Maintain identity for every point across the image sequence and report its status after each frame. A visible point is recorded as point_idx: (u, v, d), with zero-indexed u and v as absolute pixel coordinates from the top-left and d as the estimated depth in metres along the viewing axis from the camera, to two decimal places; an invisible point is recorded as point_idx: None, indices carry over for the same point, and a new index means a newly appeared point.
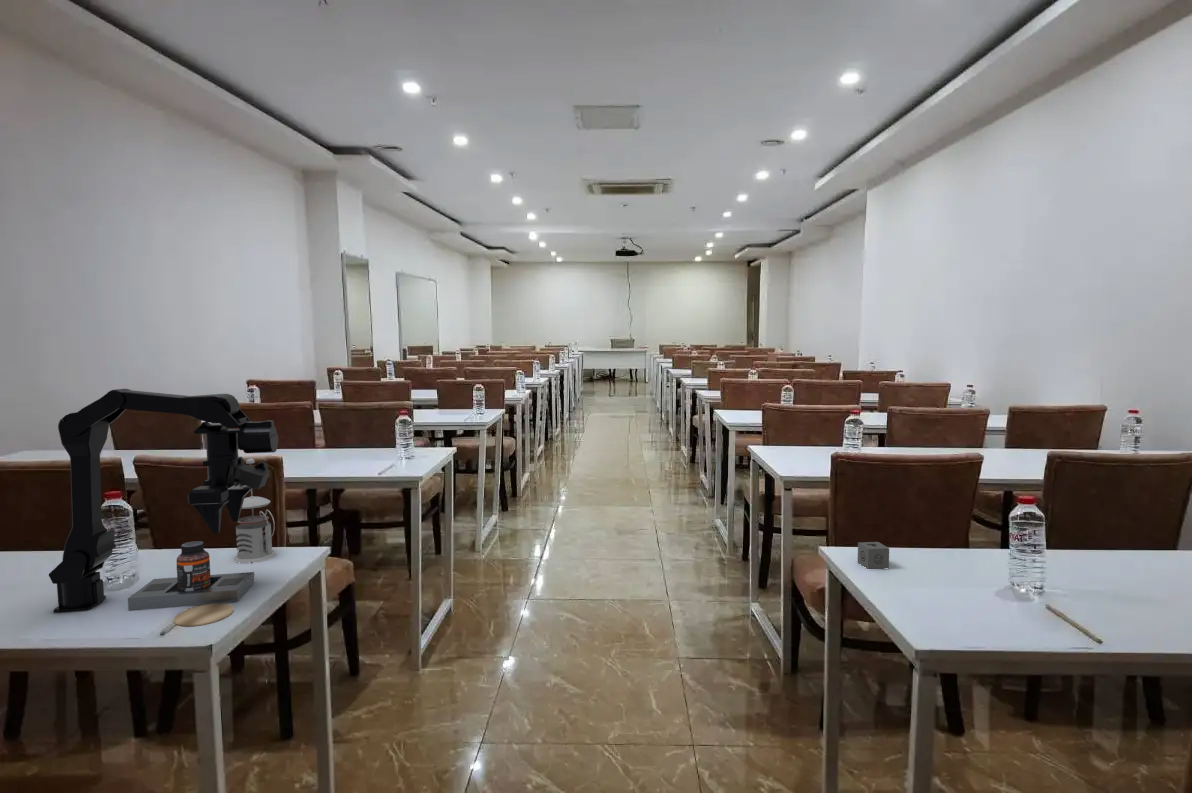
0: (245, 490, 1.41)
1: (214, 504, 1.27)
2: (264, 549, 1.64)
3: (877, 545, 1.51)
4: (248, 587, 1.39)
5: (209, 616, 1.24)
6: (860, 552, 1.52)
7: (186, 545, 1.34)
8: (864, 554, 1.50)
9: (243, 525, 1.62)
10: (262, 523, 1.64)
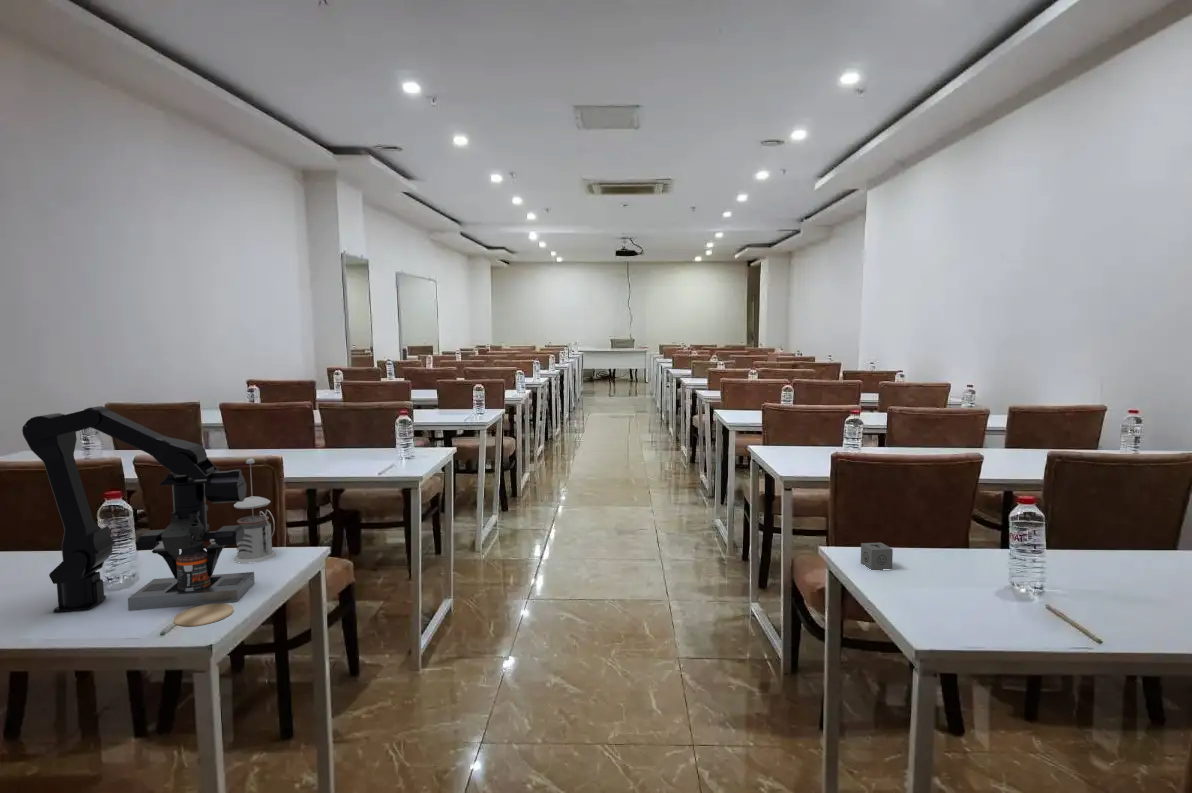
0: None
1: None
2: (264, 549, 1.64)
3: (880, 546, 1.50)
4: (248, 587, 1.39)
5: (209, 616, 1.24)
6: (863, 553, 1.51)
7: None
8: (867, 555, 1.49)
9: (243, 525, 1.62)
10: (262, 523, 1.64)
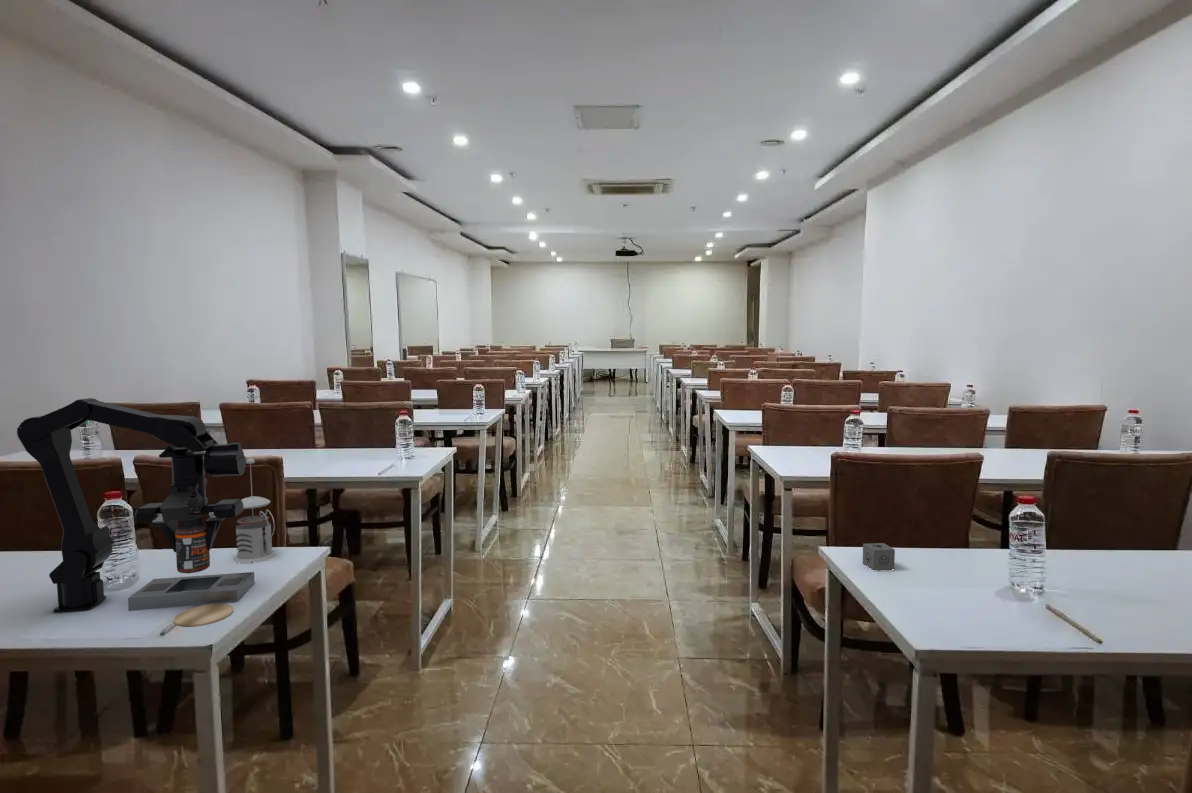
0: None
1: None
2: (264, 549, 1.64)
3: (882, 546, 1.50)
4: (248, 587, 1.39)
5: (209, 616, 1.24)
6: (865, 553, 1.51)
7: None
8: (869, 555, 1.49)
9: (243, 525, 1.62)
10: (262, 523, 1.64)
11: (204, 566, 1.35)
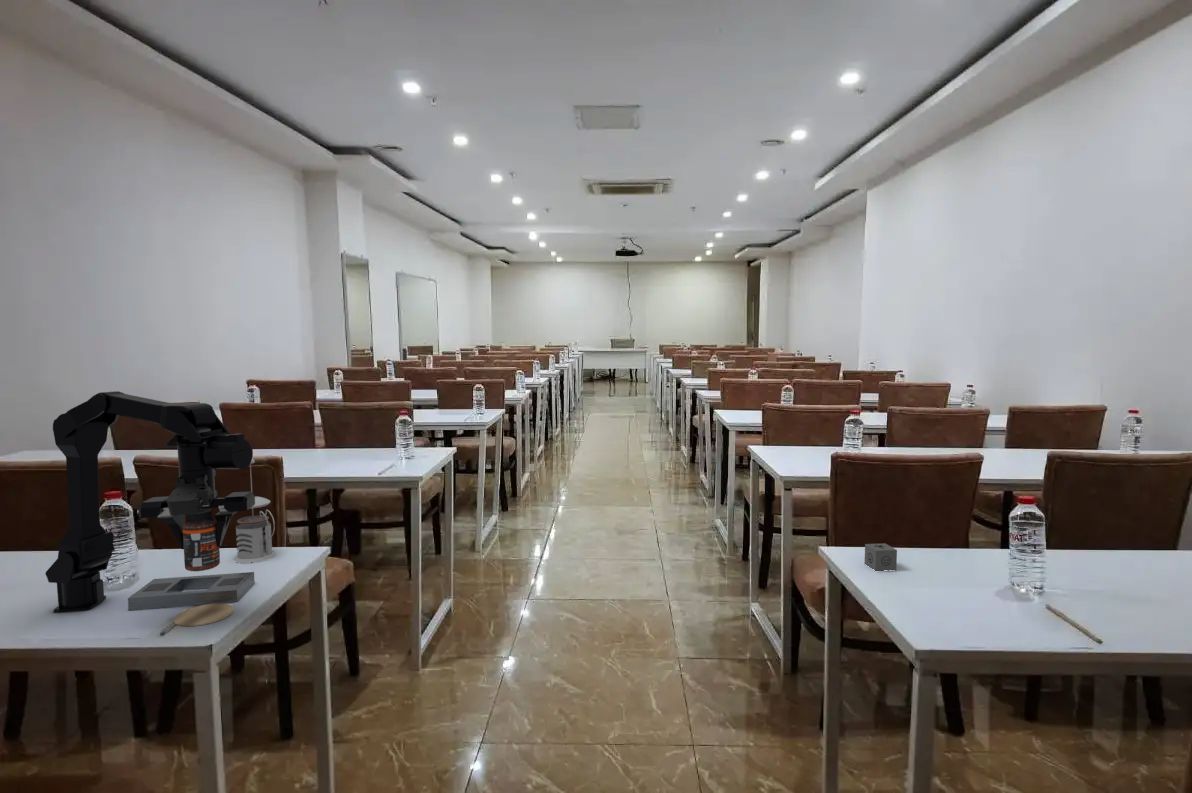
0: None
1: None
2: (264, 549, 1.64)
3: (884, 547, 1.49)
4: (248, 587, 1.39)
5: (209, 616, 1.24)
6: (867, 554, 1.51)
7: None
8: (871, 556, 1.49)
9: (243, 525, 1.62)
10: (262, 523, 1.64)
11: (214, 564, 1.25)
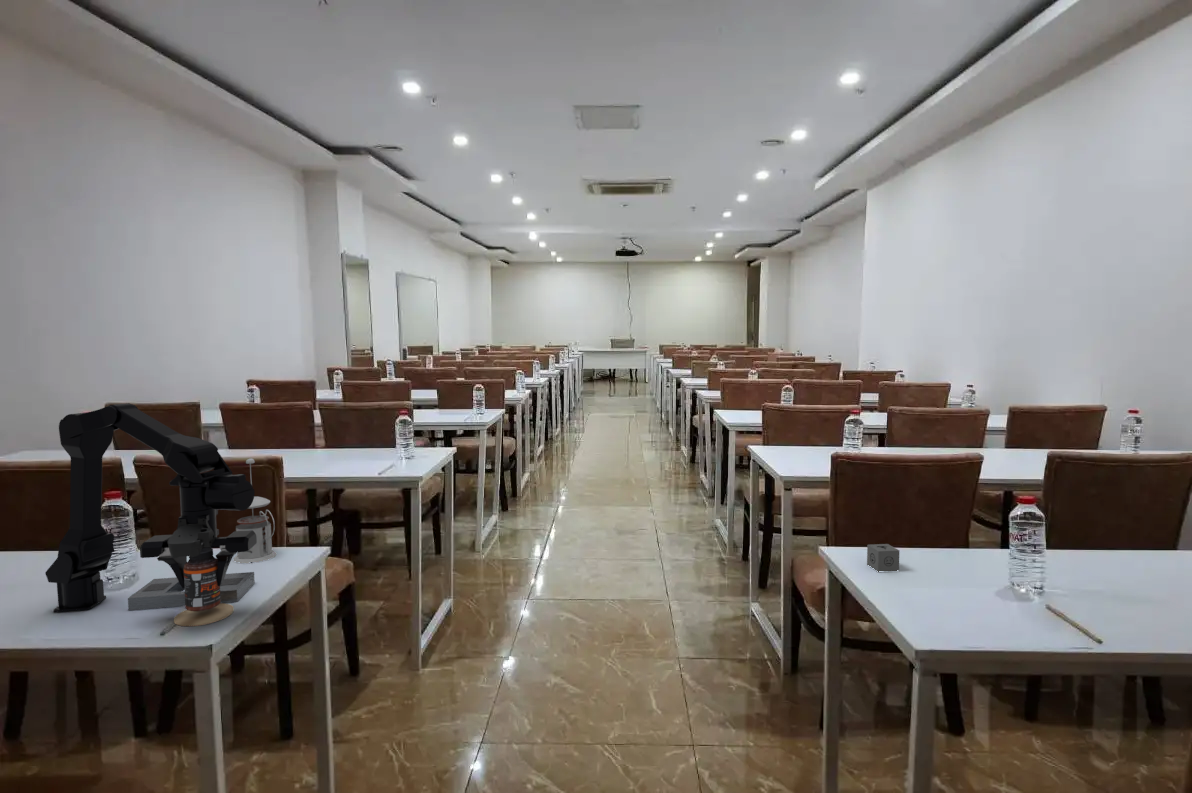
0: None
1: None
2: (264, 549, 1.64)
3: (887, 547, 1.49)
4: (248, 587, 1.39)
5: (209, 616, 1.24)
6: (870, 554, 1.50)
7: None
8: (874, 556, 1.48)
9: (243, 525, 1.62)
10: (262, 523, 1.64)
11: (215, 603, 1.25)
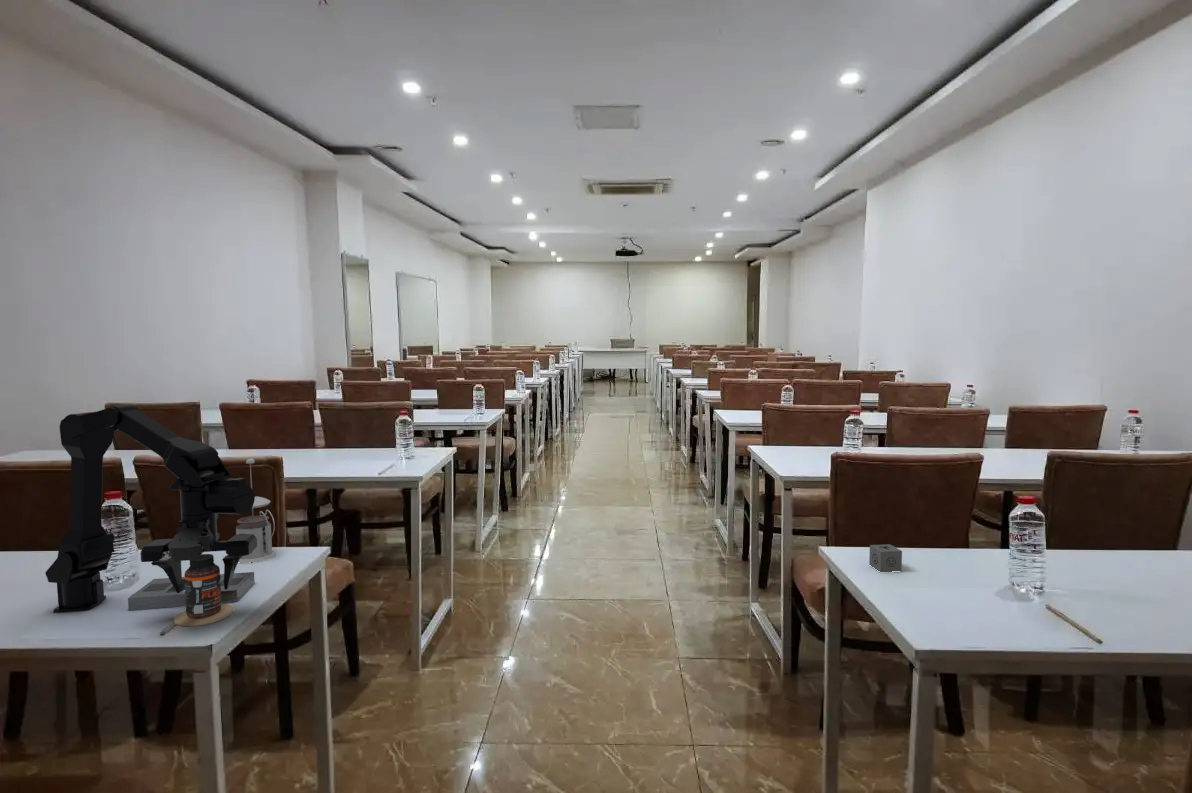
0: None
1: None
2: (264, 549, 1.64)
3: (889, 548, 1.49)
4: (248, 587, 1.39)
5: (209, 616, 1.24)
6: (872, 555, 1.50)
7: None
8: (876, 557, 1.48)
9: (243, 525, 1.62)
10: (262, 523, 1.64)
11: (216, 610, 1.25)
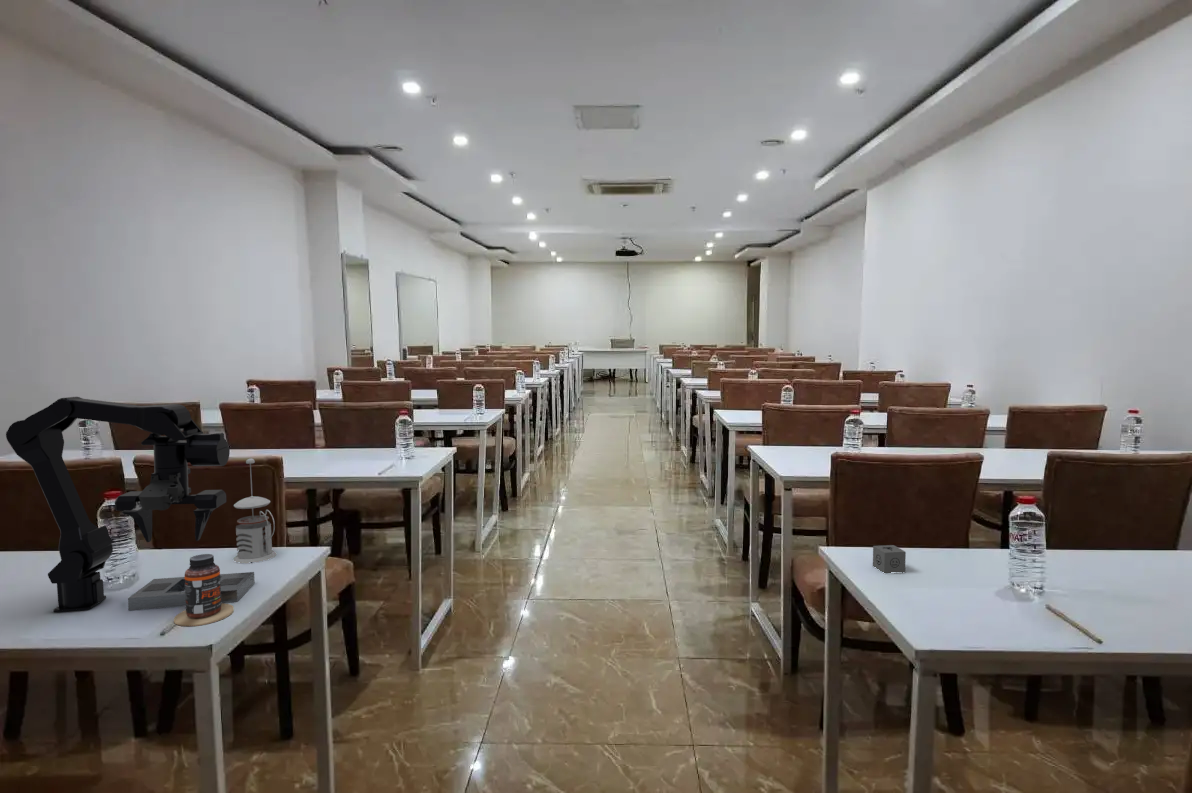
0: None
1: None
2: (264, 549, 1.64)
3: (893, 548, 1.48)
4: (248, 587, 1.39)
5: (209, 616, 1.24)
6: (875, 556, 1.49)
7: (195, 558, 1.24)
8: (880, 558, 1.47)
9: (243, 525, 1.62)
10: (262, 523, 1.64)
11: (216, 610, 1.25)
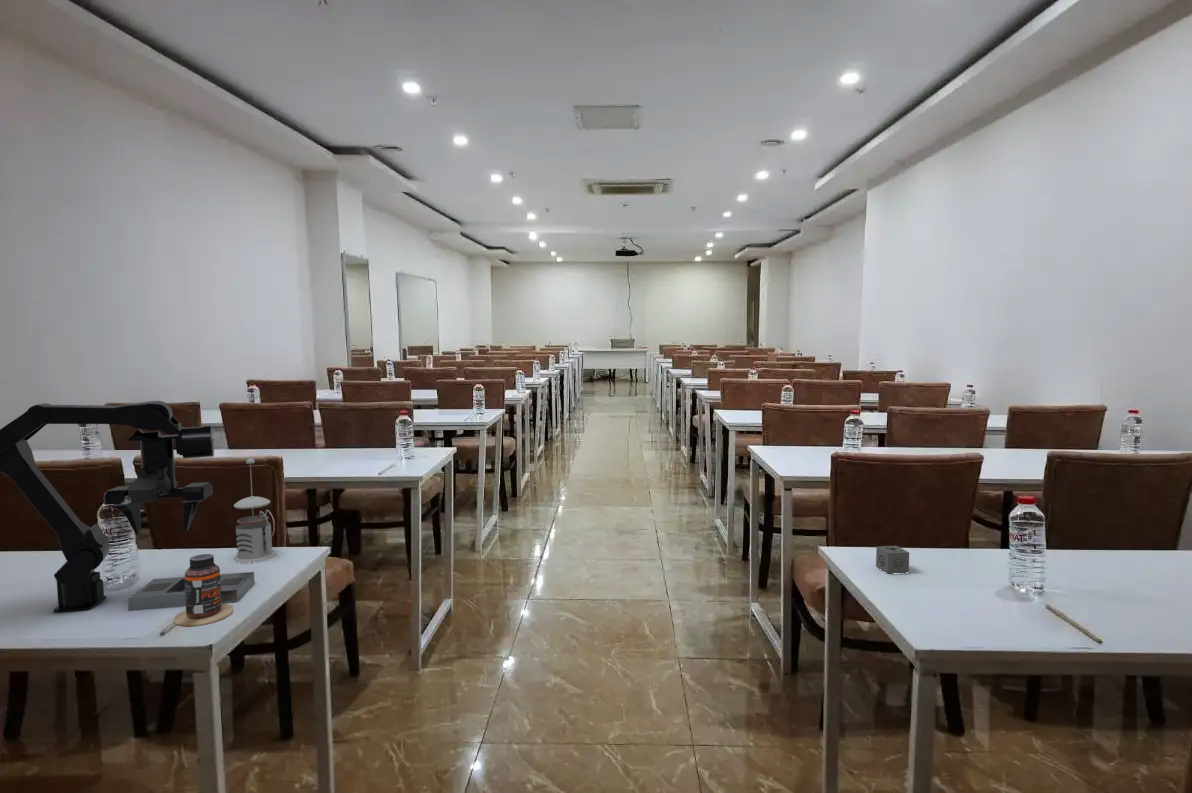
0: None
1: None
2: (264, 549, 1.64)
3: (896, 549, 1.48)
4: (248, 587, 1.39)
5: (209, 616, 1.24)
6: (879, 556, 1.49)
7: (195, 558, 1.24)
8: (883, 558, 1.47)
9: (243, 525, 1.62)
10: (262, 523, 1.64)
11: (216, 610, 1.25)
